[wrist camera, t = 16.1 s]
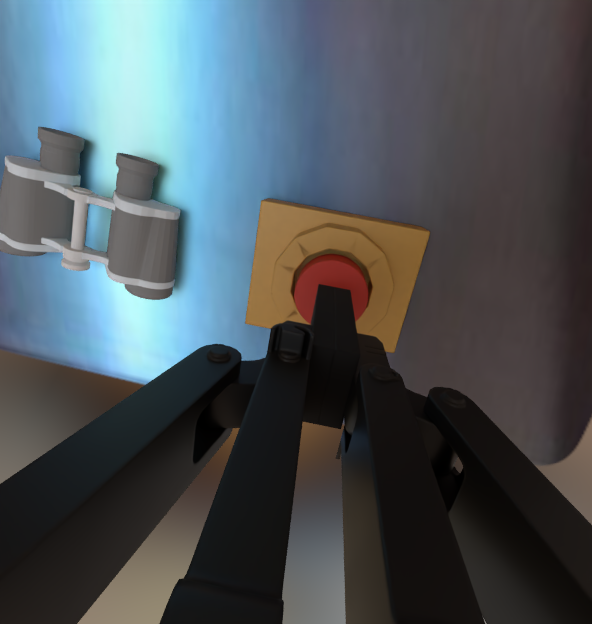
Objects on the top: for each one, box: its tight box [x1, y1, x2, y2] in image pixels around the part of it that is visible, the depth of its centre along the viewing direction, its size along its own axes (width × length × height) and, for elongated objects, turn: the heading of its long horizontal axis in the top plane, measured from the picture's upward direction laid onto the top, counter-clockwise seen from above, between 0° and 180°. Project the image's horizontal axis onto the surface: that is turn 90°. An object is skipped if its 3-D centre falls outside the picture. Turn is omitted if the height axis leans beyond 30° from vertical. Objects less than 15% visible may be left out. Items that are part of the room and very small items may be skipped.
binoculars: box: [0, 127, 181, 300], centre depth 23 cm, size 12×8×4 cm, turn 72°
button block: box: [245, 198, 430, 353], centre depth 23 cm, size 10×8×4 cm
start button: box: [294, 254, 369, 324], centre depth 21 cm, size 4×4×2 cm
